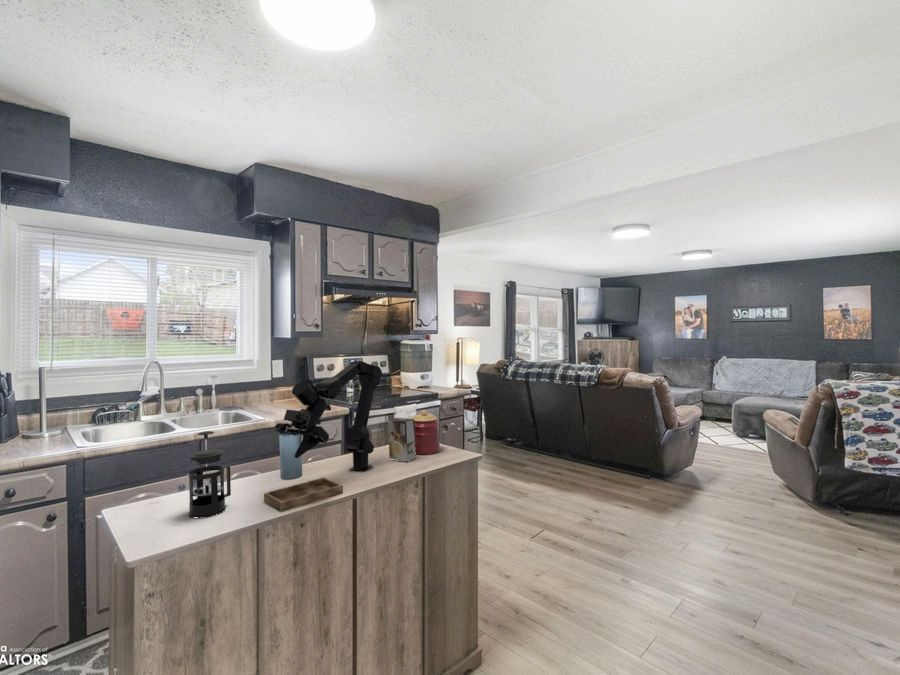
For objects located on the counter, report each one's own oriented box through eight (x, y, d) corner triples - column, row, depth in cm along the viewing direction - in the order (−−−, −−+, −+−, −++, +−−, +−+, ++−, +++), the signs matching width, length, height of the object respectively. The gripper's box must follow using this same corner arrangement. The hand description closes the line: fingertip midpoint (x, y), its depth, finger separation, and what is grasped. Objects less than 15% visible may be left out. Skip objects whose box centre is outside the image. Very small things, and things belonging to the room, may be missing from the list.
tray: (323, 484, 150) (323, 477, 150) (342, 493, 142) (342, 485, 142) (264, 501, 136) (263, 493, 136) (281, 511, 127) (281, 503, 127)
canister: (428, 457, 182) (427, 413, 182) (403, 453, 189) (402, 411, 189) (445, 449, 193) (445, 409, 193) (421, 446, 200) (420, 406, 200)
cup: (282, 474, 140) (281, 432, 140) (304, 472, 141) (302, 431, 141) (278, 480, 134) (277, 437, 134) (300, 479, 135) (299, 436, 135)
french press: (195, 522, 122) (193, 437, 121) (180, 514, 127) (178, 433, 127) (237, 508, 131) (236, 429, 131) (221, 501, 137) (220, 426, 137)
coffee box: (416, 458, 180) (415, 418, 180) (407, 462, 175) (406, 421, 175) (397, 456, 184) (396, 417, 184) (388, 460, 179) (387, 420, 179)
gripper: (277, 397, 145) (249, 439, 136) (321, 400, 137) (295, 444, 127) (296, 417, 152) (271, 458, 143) (339, 421, 144) (316, 464, 134)
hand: (287, 456), depth 137 cm, fingers closed on cup, 6 cm apart
